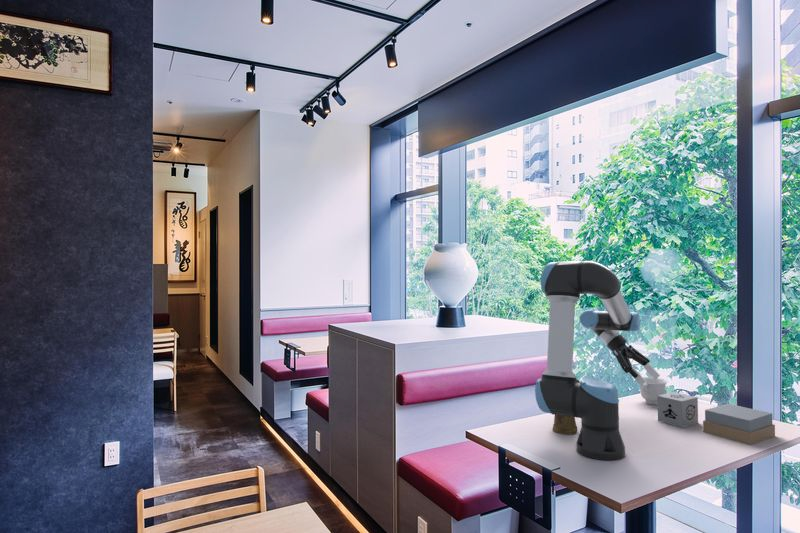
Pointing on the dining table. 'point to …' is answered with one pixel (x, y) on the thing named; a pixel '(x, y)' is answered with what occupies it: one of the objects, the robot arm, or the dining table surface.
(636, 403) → the dining table surface
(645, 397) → the teacup
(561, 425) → the wooden mug
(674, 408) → the icon cube
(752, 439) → the tower base
